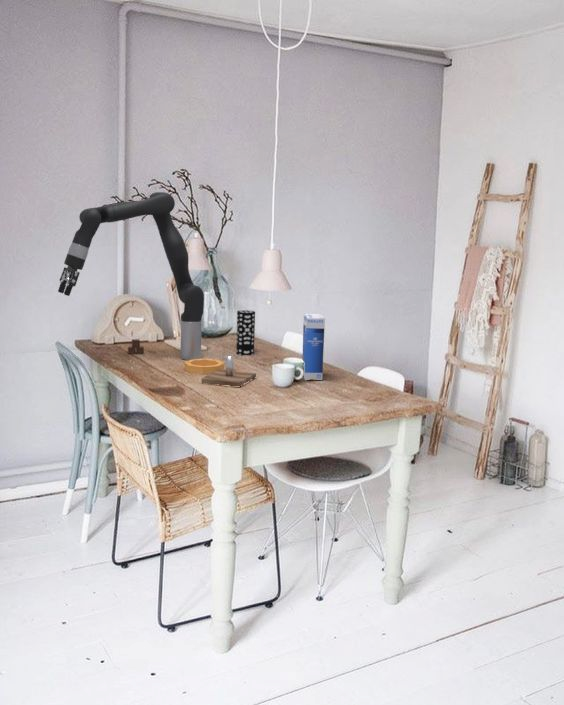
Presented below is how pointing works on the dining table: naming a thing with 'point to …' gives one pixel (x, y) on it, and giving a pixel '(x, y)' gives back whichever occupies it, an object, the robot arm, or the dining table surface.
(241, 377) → the hook stand
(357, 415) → the dining table surface
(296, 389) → the dining table surface
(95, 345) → the dining table surface
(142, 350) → the stack of crates
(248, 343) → the white-spotted black cylinder
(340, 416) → the dining table surface
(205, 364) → the orange octagonal ring
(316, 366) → the string lights box
